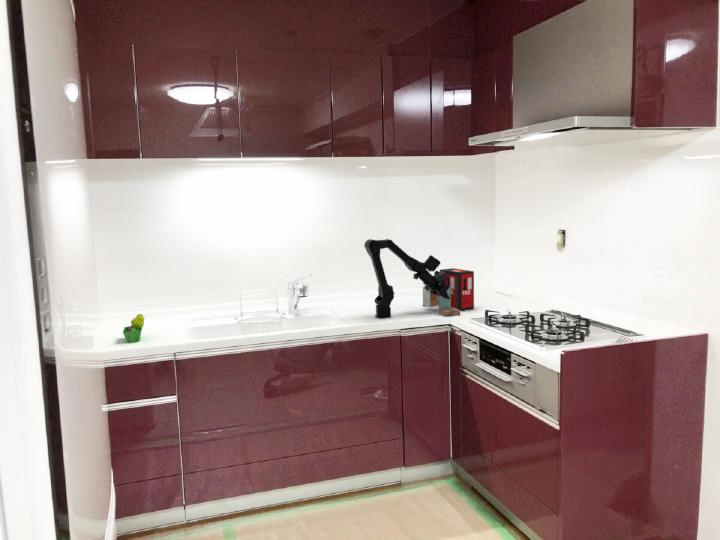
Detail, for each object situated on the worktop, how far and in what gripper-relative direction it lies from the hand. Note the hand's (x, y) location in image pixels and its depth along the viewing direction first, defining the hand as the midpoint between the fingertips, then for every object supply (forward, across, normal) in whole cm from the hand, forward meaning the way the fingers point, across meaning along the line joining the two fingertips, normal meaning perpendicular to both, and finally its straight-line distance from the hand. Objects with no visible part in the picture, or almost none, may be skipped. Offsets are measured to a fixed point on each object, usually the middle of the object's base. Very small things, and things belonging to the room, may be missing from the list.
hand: (447, 298), depth 303 cm
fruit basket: (-102, +3, +112) cm, 152 cm away
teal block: (+4, 0, +6) cm, 7 cm away
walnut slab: (+2, -9, +7) cm, 12 cm away
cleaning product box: (+10, +4, 0) cm, 11 cm away
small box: (+4, +16, +6) cm, 17 cm away
